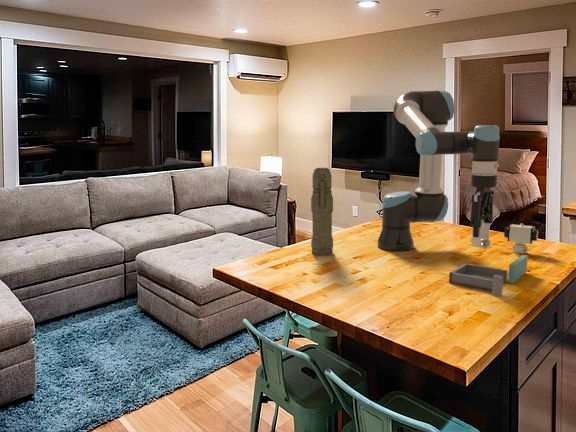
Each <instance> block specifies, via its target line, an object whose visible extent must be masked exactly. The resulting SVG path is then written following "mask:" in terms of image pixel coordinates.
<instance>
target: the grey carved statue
mask: <svg viewBox="0 0 576 432" xmlns="http://www.w3.org/2000/svg"><path fill="white" fill-rule="evenodd" d="M332 193H333V192H332V172H331V169H330V168H328V167H316V168H315V169H313V173H312V194H311V197H310V209H311V210H310V212H311V214H312V217H311V218H312V235H311V239H310V240H311V241H310V242H311V244H310V246H311V255H314V256H322V257H323V256H330V255H333V254H334V251H333V249H334V238H333V223H332V222H333V211H334V197H333V194H332Z"/></svg>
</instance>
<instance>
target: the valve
mask: <svg viewBox="0 0 576 432" xmlns="http://www.w3.org/2000/svg"><path fill="white" fill-rule="evenodd" d="M493 213H494V211H493V212H492V211H487V210H484V211H483V217H482V222H481V227H482V237H481V247H479V248H482V249H484V250H486V249H488V248H490V247H491V239H490V238H489V239H487V238H486V237H485V234H486V230H484V228H483V227H485V222H483V220H485V218H486V216H488V214H490V216H492V215H493V216H494V214H493ZM470 237H471V238H470V239H471V240H470V243H472V235H471V236H470Z"/></svg>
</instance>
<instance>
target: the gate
mask: <svg viewBox="0 0 576 432" xmlns="http://www.w3.org/2000/svg"><path fill="white" fill-rule="evenodd" d="M528 256H529V255H525V254H522V255H520V256H519V257H518V258H516V259H515V260H514V261H512V262H510V264H508V266H509V267H508V276H507V283H510V284H514V283H515V282H516V281H518V280H519V279H520V278H522V277H523V276H524V275H525V274H526V273H527V270H528V269H527V268H528V259H529V258H528Z"/></svg>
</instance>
